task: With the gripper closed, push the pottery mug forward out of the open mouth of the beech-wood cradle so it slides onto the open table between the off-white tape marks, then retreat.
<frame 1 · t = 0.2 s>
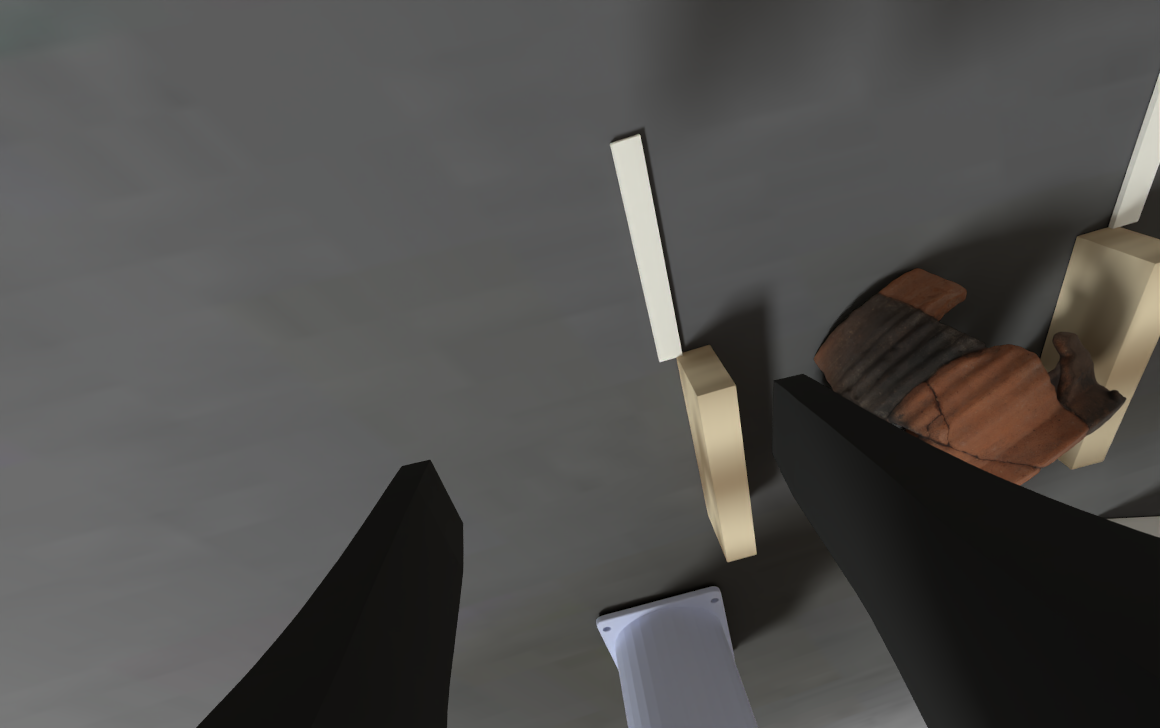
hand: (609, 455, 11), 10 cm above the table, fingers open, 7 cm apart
cradle: (881, 391, 24), on the table
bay: (898, 185, 19), on the table
milk: (1099, 543, 34), on the table
pottery mug: (878, 368, 24), on the table
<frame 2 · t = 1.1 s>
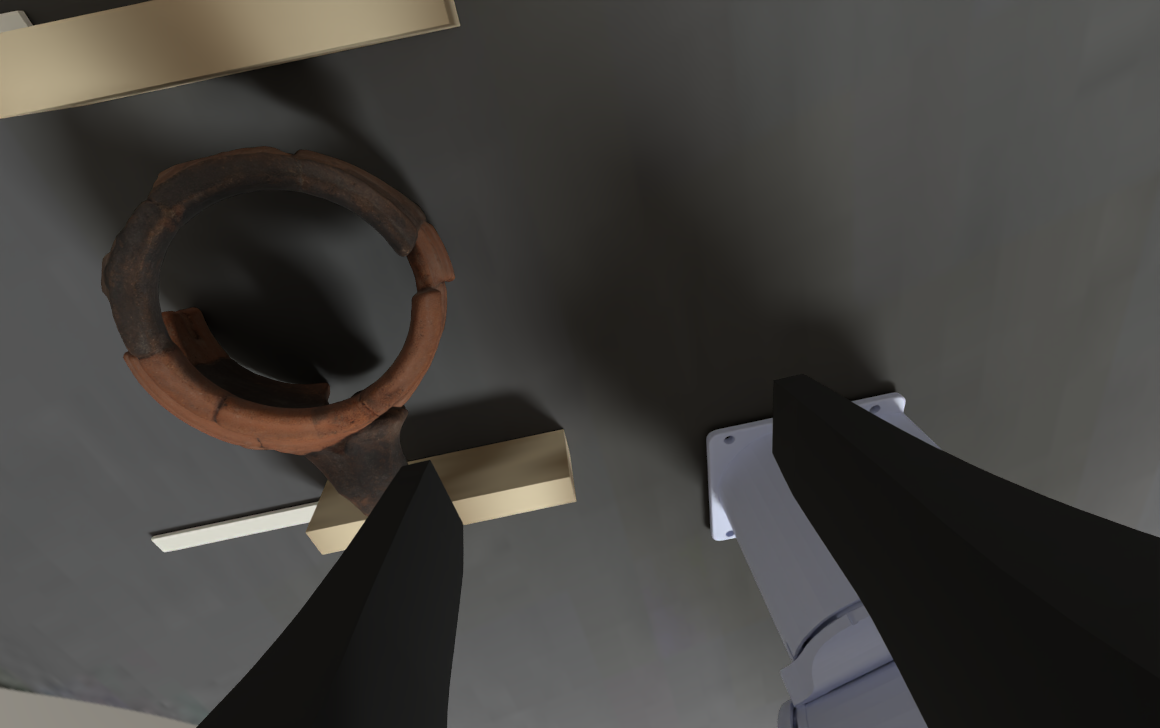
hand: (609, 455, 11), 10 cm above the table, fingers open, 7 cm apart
cradle: (379, 304, 19), on the table
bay: (116, 359, 19), on the table
pottery mug: (341, 306, 19), on the table
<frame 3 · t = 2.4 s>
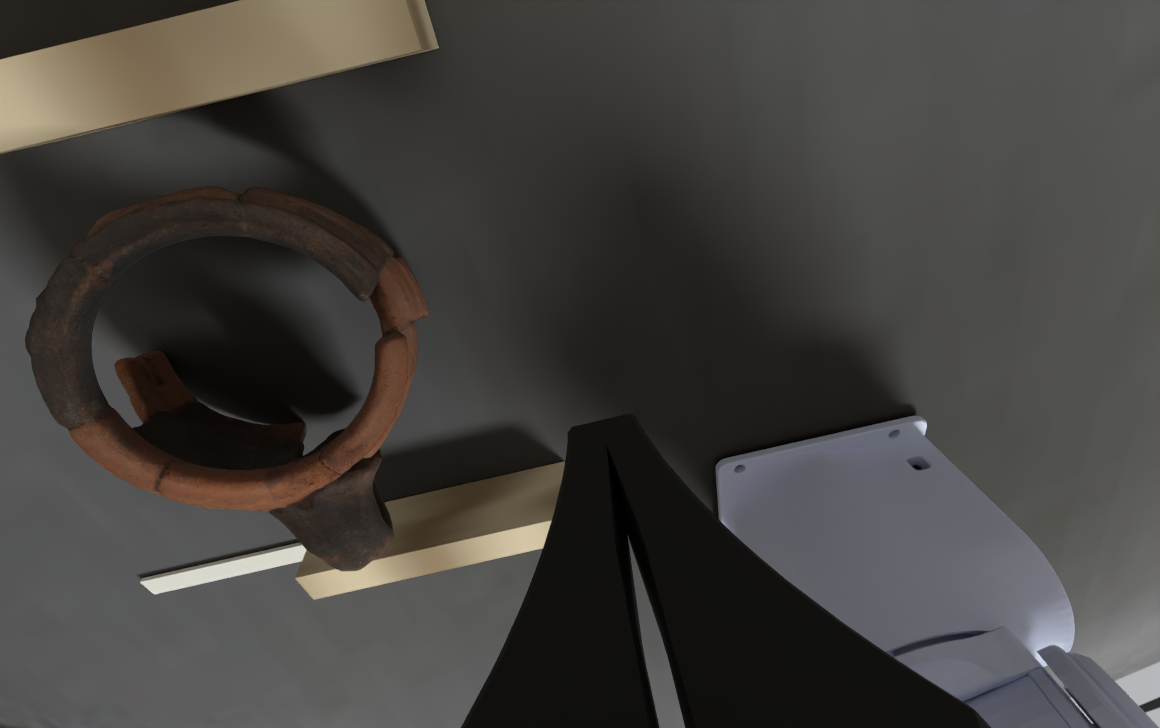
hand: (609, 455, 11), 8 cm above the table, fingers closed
cradle: (364, 340, 18), on the table
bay: (92, 403, 18), on the table
pottery mug: (313, 343, 18), on the table
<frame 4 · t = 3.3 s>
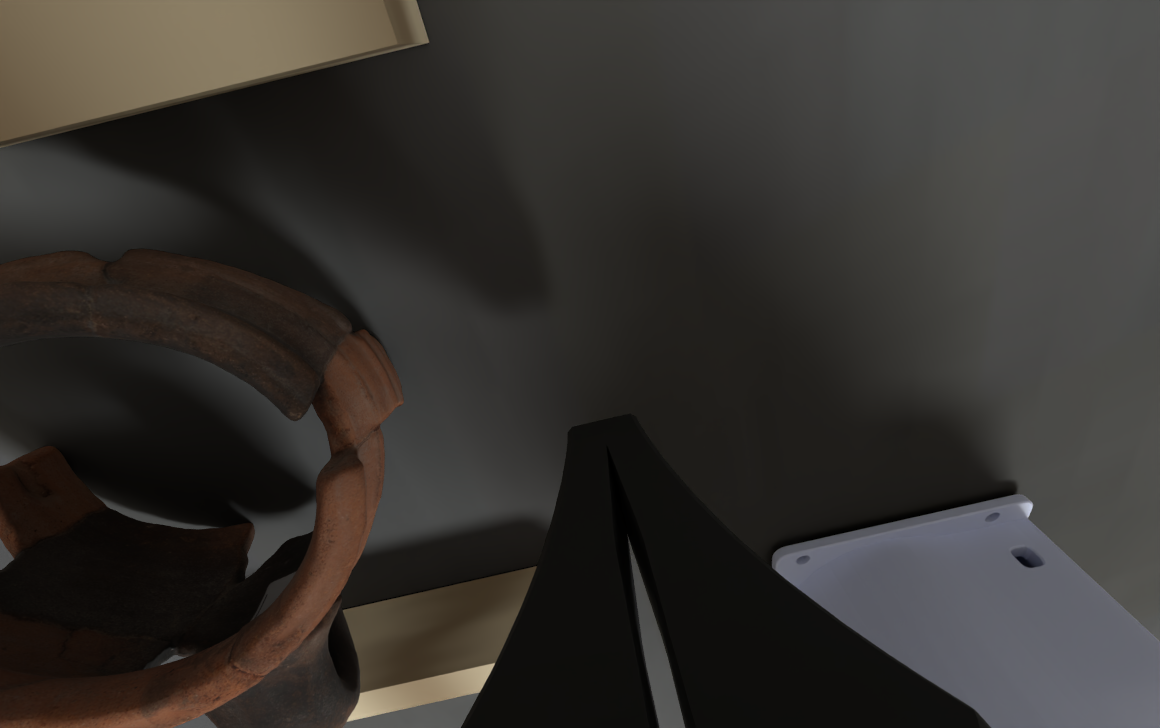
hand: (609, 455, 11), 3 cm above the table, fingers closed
cradle: (336, 426, 14), on the table
pottery mug: (257, 430, 14), on the table
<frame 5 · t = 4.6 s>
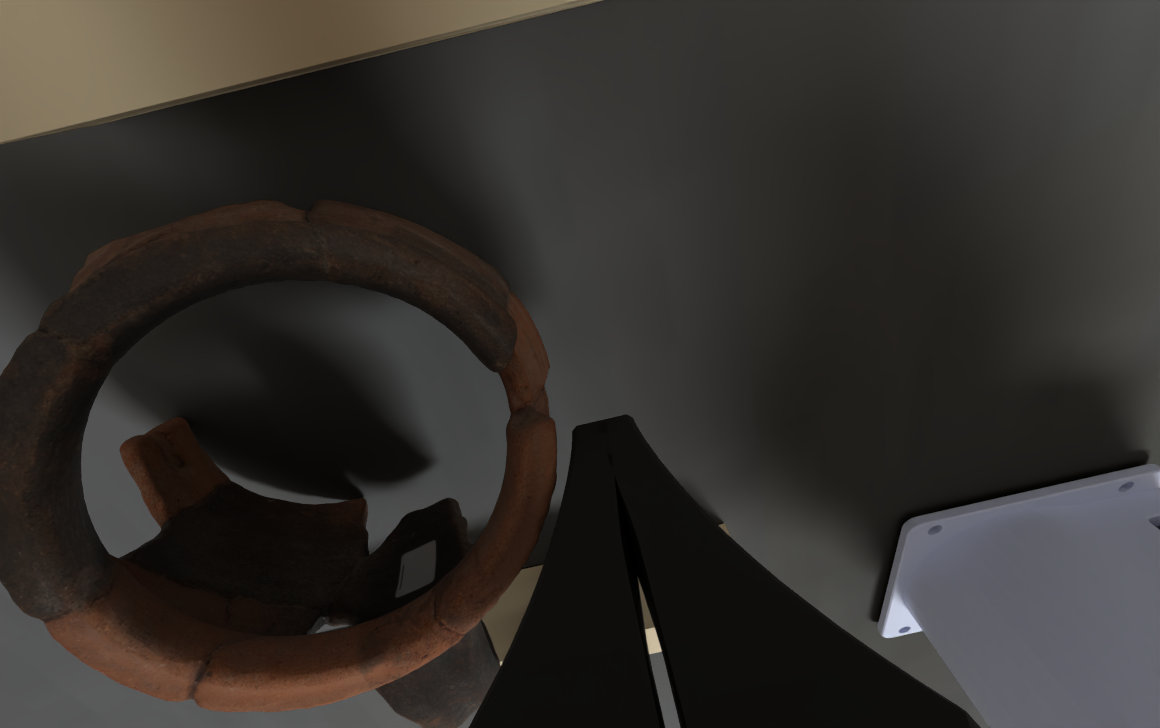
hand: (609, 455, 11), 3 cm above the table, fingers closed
cradle: (512, 385, 13), on the table
pottery mug: (381, 401, 14), on the table, touching gripper
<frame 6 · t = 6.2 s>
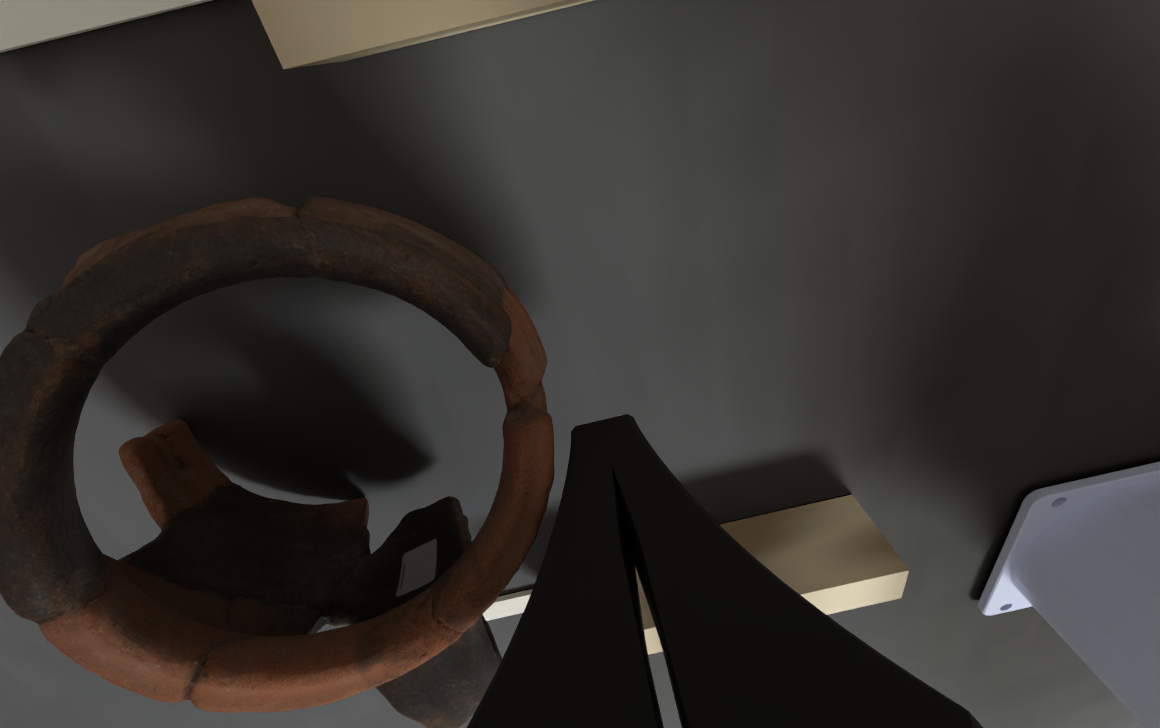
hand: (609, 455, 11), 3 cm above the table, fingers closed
cradle: (679, 346, 13), on the table
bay: (315, 430, 13), on the table
pottery mug: (380, 400, 13), on the table, touching gripper
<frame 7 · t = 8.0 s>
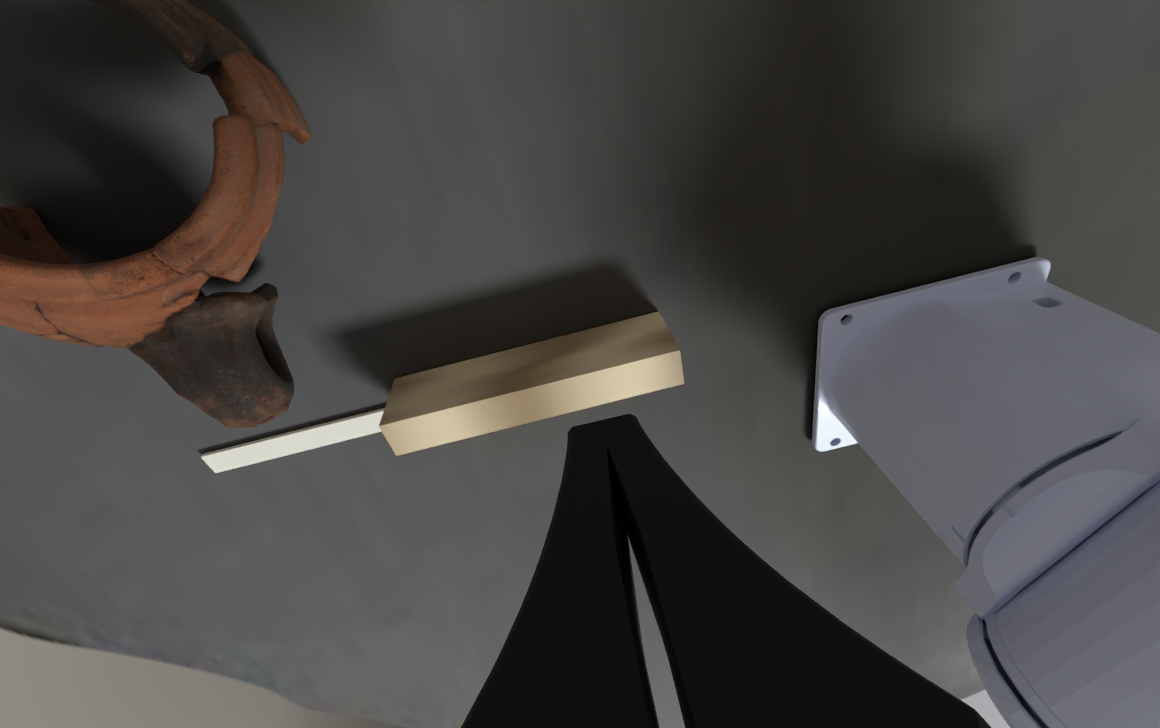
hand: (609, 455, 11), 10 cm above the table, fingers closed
cradle: (458, 143, 16), on the table
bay: (159, 222, 16), on the table
pottery mug: (200, 197, 16), on the table
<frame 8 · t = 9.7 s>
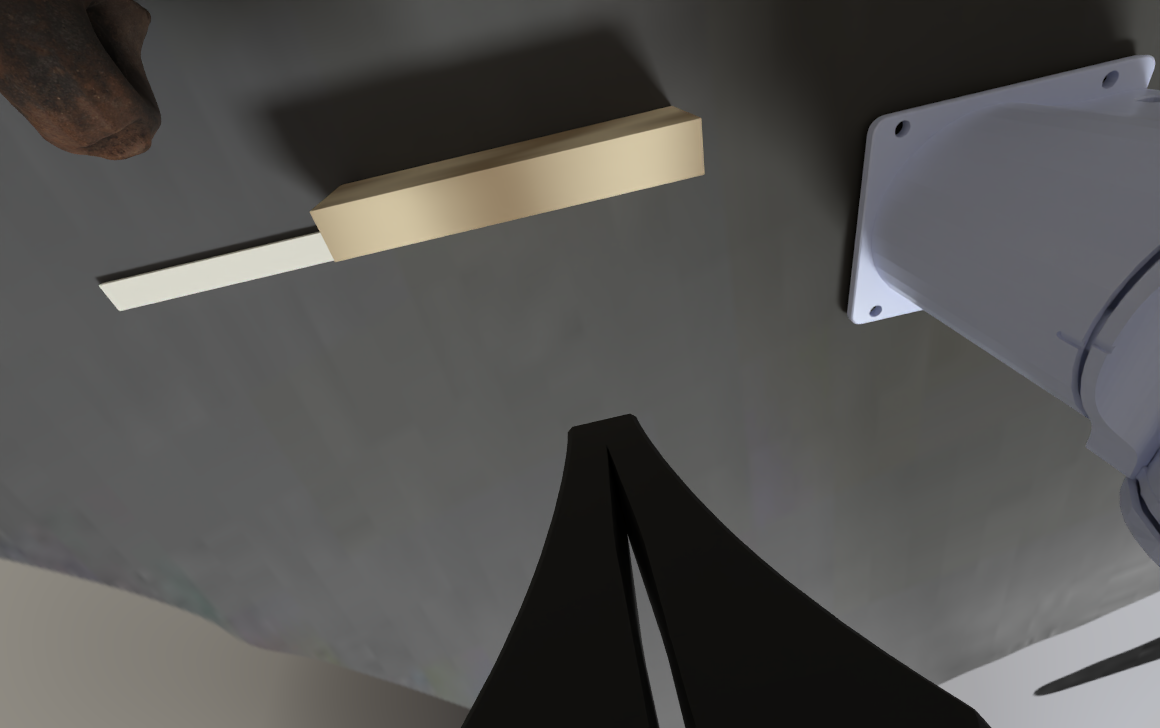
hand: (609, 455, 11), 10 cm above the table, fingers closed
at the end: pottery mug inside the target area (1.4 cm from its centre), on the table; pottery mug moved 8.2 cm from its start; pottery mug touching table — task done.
